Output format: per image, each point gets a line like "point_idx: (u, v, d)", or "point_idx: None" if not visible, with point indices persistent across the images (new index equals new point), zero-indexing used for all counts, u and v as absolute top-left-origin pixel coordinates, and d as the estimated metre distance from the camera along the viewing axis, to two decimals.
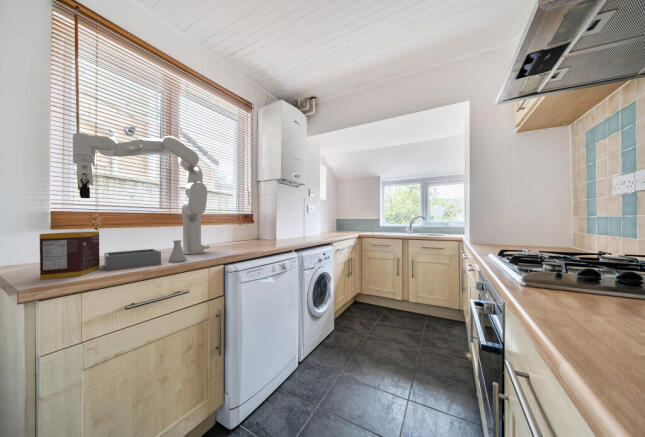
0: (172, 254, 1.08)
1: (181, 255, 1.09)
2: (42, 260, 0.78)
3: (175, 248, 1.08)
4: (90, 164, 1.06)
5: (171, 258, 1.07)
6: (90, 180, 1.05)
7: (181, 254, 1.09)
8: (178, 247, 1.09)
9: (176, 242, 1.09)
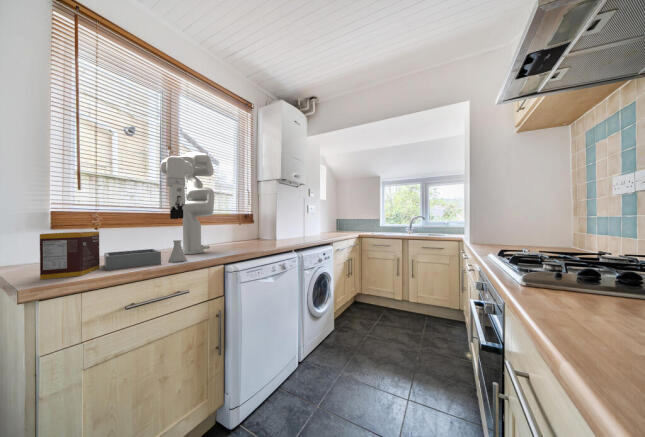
0: (172, 254, 1.08)
1: (181, 255, 1.09)
2: (42, 260, 0.78)
3: (175, 248, 1.08)
4: (183, 187, 1.08)
5: (171, 258, 1.07)
6: (183, 202, 1.08)
7: (181, 254, 1.09)
8: (178, 247, 1.09)
9: (176, 242, 1.09)
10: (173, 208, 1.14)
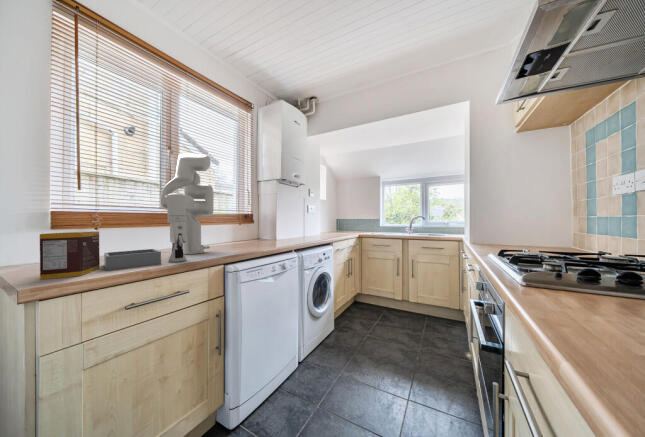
0: (172, 254, 1.08)
1: None
2: (42, 260, 0.78)
3: (175, 248, 1.08)
4: (184, 223, 1.08)
5: (171, 258, 1.07)
6: (184, 239, 1.08)
7: None
8: None
9: None
10: None
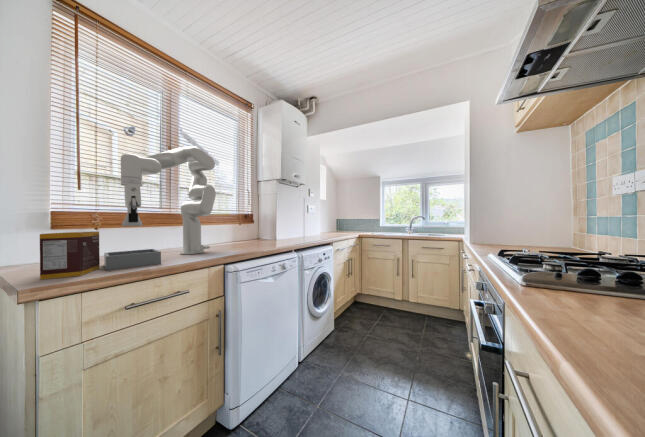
0: (126, 218, 1.02)
1: None
2: (42, 260, 0.78)
3: None
4: (138, 186, 1.02)
5: (124, 222, 1.01)
6: (139, 203, 1.02)
7: None
8: None
9: None
10: None
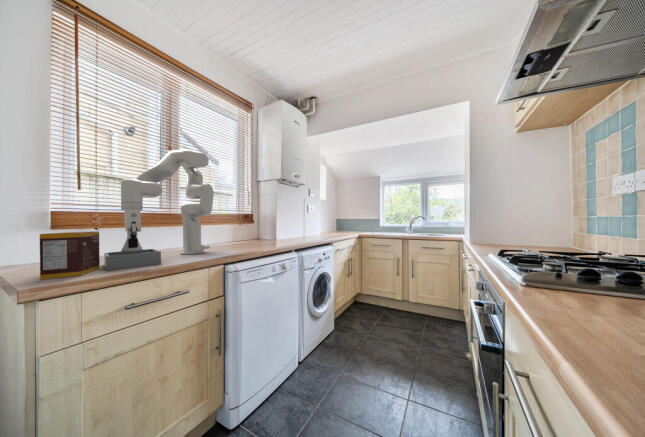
0: (125, 243, 1.01)
1: None
2: (42, 260, 0.78)
3: None
4: (138, 211, 1.02)
5: (124, 247, 1.01)
6: (139, 228, 1.01)
7: None
8: None
9: None
10: None
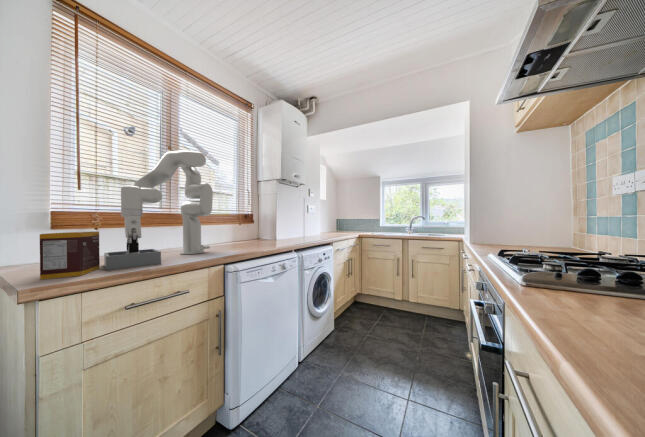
0: None
1: None
2: (42, 260, 0.78)
3: None
4: (138, 218, 1.02)
5: None
6: (139, 235, 1.01)
7: None
8: None
9: None
10: (130, 239, 1.07)
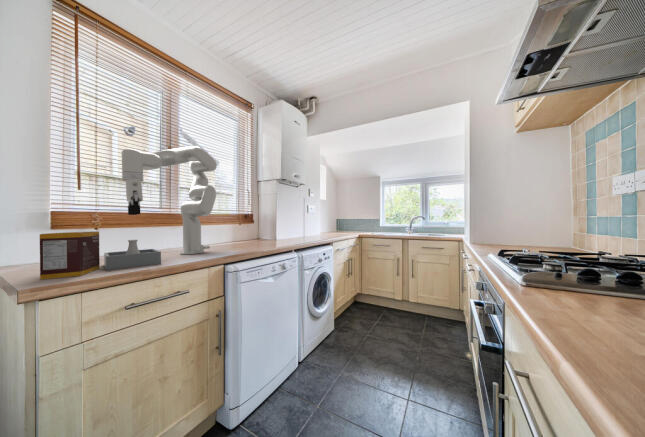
0: None
1: None
2: (42, 260, 0.78)
3: (130, 248, 1.02)
4: (139, 181, 1.03)
5: None
6: (140, 197, 1.03)
7: None
8: (133, 247, 1.02)
9: (131, 242, 1.02)
10: (131, 203, 1.09)
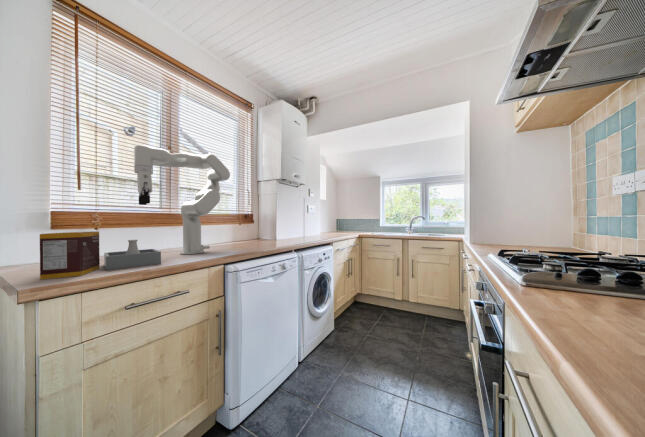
0: None
1: None
2: (42, 260, 0.78)
3: (130, 248, 1.02)
4: (150, 173, 1.15)
5: None
6: (150, 188, 1.14)
7: None
8: (133, 247, 1.02)
9: (131, 242, 1.02)
10: (142, 194, 1.20)
